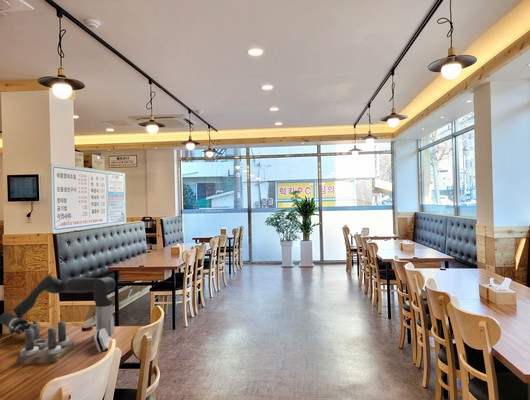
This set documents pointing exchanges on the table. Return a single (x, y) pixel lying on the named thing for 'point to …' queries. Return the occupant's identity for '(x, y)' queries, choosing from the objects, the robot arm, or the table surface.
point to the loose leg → (36, 331)
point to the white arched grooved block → (102, 339)
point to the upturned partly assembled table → (45, 346)
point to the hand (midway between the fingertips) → (28, 330)
